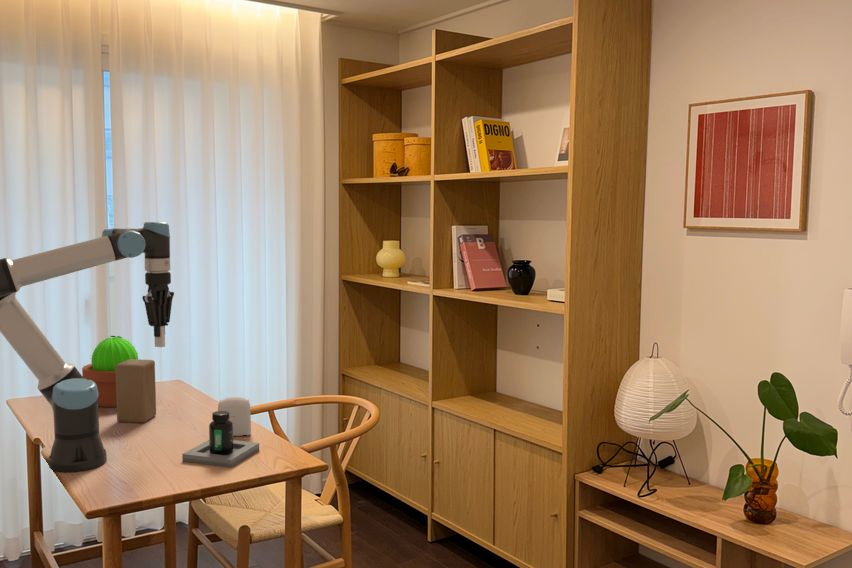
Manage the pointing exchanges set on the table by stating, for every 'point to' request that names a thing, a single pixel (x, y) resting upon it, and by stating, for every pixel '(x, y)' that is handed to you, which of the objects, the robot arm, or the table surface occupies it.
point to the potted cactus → (108, 367)
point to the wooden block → (135, 390)
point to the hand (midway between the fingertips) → (159, 346)
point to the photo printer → (237, 414)
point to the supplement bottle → (221, 433)
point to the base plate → (205, 457)
